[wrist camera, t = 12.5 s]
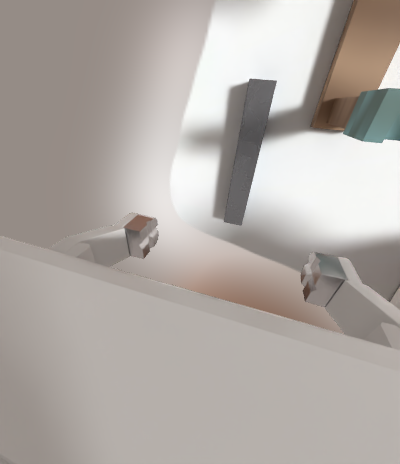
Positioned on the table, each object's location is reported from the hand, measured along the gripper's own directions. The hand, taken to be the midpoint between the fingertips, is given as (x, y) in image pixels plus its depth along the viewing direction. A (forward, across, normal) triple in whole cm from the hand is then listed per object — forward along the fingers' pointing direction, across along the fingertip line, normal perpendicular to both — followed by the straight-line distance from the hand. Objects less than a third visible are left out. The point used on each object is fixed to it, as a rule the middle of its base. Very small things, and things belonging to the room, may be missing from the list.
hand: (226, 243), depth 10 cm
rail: (+18, +1, 0) cm, 18 cm away
